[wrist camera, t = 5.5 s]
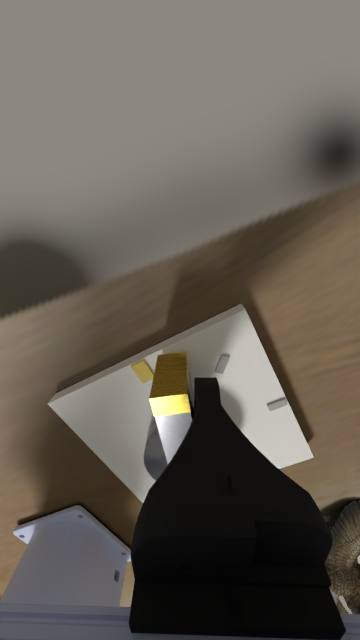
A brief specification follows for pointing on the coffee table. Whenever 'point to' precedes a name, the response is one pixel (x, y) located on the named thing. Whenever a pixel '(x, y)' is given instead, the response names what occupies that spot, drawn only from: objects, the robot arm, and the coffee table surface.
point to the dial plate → (204, 361)
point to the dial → (168, 411)
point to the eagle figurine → (345, 559)
